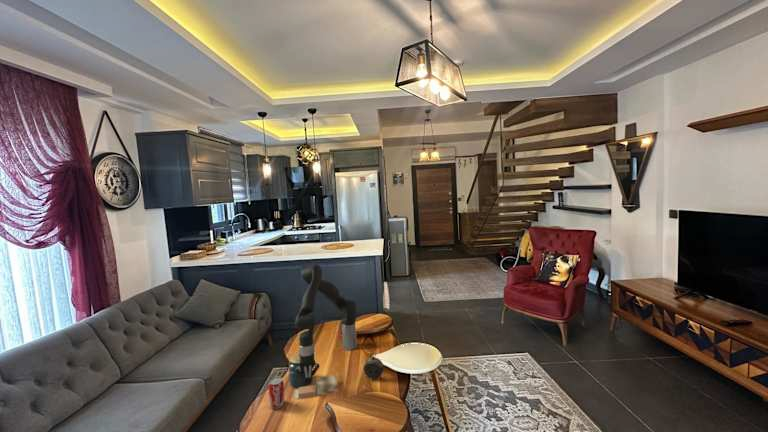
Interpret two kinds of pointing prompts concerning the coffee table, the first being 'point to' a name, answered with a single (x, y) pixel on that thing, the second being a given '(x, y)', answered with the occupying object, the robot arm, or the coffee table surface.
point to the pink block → (307, 391)
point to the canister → (295, 378)
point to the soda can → (276, 392)
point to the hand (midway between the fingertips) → (308, 383)
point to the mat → (298, 395)
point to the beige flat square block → (326, 385)
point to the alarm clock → (373, 367)
